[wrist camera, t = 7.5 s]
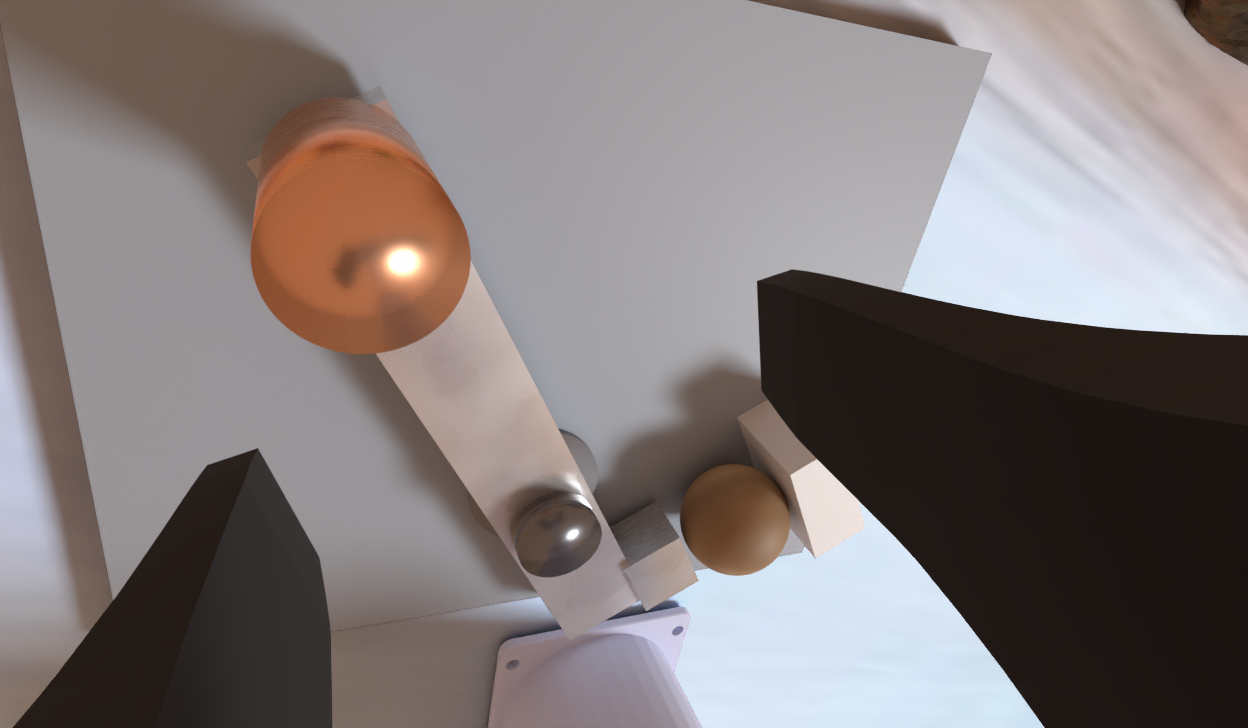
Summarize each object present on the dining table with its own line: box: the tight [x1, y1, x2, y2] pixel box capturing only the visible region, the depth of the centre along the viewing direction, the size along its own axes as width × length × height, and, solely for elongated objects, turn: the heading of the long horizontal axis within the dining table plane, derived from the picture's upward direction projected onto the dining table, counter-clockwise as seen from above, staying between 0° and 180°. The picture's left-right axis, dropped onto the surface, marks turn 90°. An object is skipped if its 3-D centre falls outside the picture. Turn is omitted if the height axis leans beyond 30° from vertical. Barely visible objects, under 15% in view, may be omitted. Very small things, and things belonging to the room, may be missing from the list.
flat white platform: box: [0, 0, 992, 632], centre depth 19 cm, size 19×23×4 cm
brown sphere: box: [680, 464, 790, 576], centre depth 24 cm, size 4×4×4 cm
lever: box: [246, 86, 698, 641], centre depth 17 cm, size 18×5×6 cm, turn 19°
